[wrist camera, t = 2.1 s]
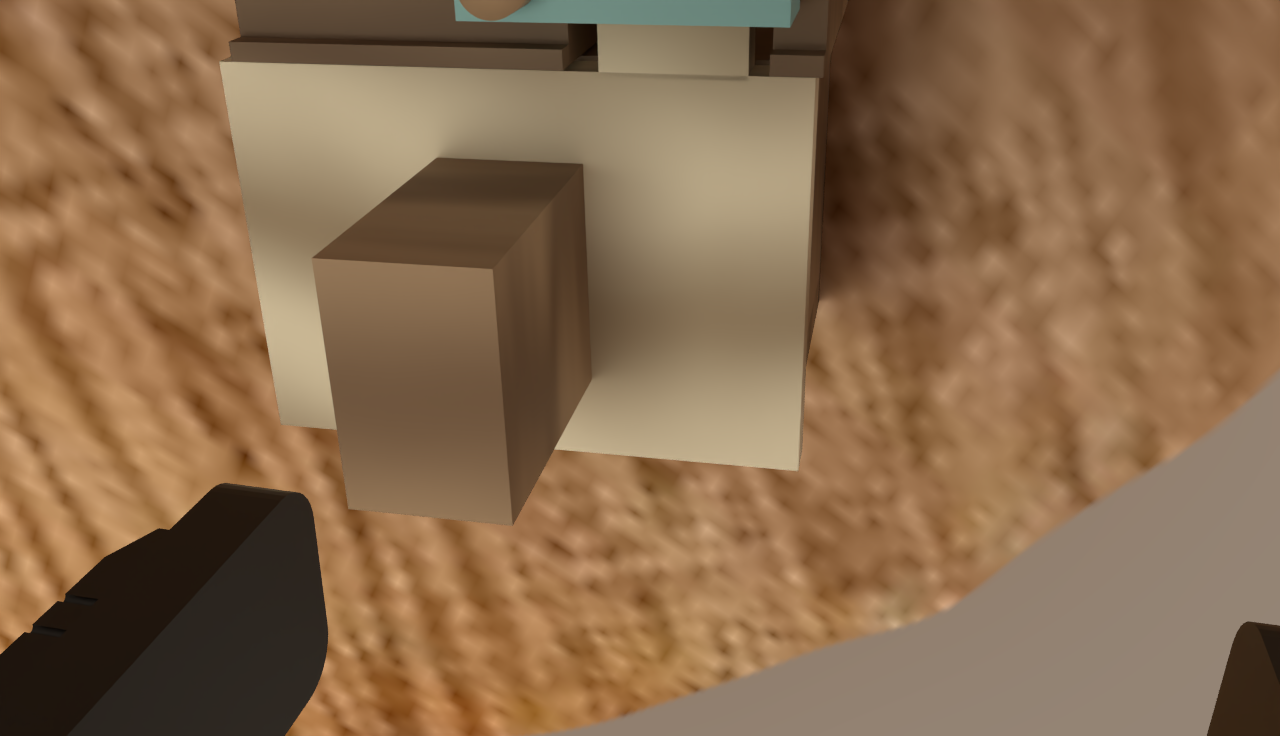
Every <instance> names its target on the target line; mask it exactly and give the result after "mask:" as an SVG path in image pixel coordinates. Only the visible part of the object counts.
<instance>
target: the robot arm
mask: <svg viewBox="0 0 1280 736" xmlns="http://www.w3.org/2000/svg"><path fill="white" fill-rule="evenodd" d="M65 595H66V596H65V600H64V602H59V601H57V602H56V603H55V604H54V605H53V606H52V607H51V608H50V609H49V610H48V611H47V612H45V613H44V614H43V615H42V616H41V617H40V618H39V619H38V620H37V621H36V622H35V623H34V624H33V629H32V631H31V633H26V632H24V633H23V634H22V635H21V636H20V637H19V638H18V639H17V640H15V641H14V642H13V643H12V644H11V645H10V646H9V647H8V648H7V649H6V650H5V651H4V652H3V653H1V654H0V736H285V735H286V733H287V732H288V730H289V729H290V727H291V726H292V724H293V723H294V722H295V720H296V719H297V717H298V716H299V714H300V713H301V711H302V710H303V708H304V707H305V705H306V704H307V703H308V701H309V700H310V698H311V696H312V695H313V693H314V691H315V689H316V687H317V685H318V682H319V680H320V677H321V674H322V671H323V667H324V663H325V659H326V653H327V644H328V625H327V617H326V609H325V602H324V594H323V586H322V578H321V570H320V563H319V555H318V547H317V539H316V531H315V524H314V517H313V511H312V508H311V505H310V503H309V501H308V499H307V498H306V497H305V496H304V495H303V494H301V493H297V492H290V491H282V490H275V489H267V488H260V487H252V486H245V485H237V484H230V483H222V484H219V485H217V486H215V487H214V488H213V489H211V490H210V491H209V492H208V493H207V494H206V495H205V496H204V497H203V498H202V499H201V500H200V501H199V502H198V503H197V504H196V505H195V506H194V507H193V508H192V509H191V510H189V511H188V512H187V513H186V514H185V515H184V516H183V517H182V518H181V519H180V520H179V521H178V522H177V523H176V524H175V525H174V526H173V527H172V528H171V529H170V530H166V529H157V530H155V531H153V532H151V533H149V534H147V535H146V536H144V537H142V538H140V539H138V540H136V541H134V542H132V543H131V544H129V545H127V546H125V547H123V548H121V549H119V550H117V551H115V552H114V553H112V554H110V555H108V556H106V557H104V558H103V559H102V560H101V561H100V562H99V563H98V564H97V565H96V566H95V567H94V568H93V569H92V570H90V571H89V572H88V573H87V574H86V575H85V576H84V577H83V578H82V579H81V580H80V581H79V582H78V583H77V584H75V585H74V586H73V587H72V588H71V589H70V590H69V591H68V592H67V593H66V594H65ZM1207 736H1280V626H1278V625H1270V624H1263V623H1256V622H1246V623H1244V624H1243V625H1242V626H1241V627H1240V629H1239V630H1238V632H1237V634H1236V637H1235V638H1234V641H1233V644H1232V648H1231V651H1230V655H1229V658H1228V662H1227V665H1226V669H1225V673H1224V676H1223V680H1222V683H1221V687H1220V690H1219V694H1218V698H1217V701H1216V705H1215V709H1214V712H1213V716H1212V719H1211V723H1210V726H1209V730H1208V734H1207Z"/></svg>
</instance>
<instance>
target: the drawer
mask: <svg viewBox="0 0 1280 736" xmlns="http://www.w3.org/2000/svg"><path fill="white" fill-rule="evenodd" d="M755 28H756V27H734V26H683V25H632V24H597V39H598V61H574V62H573V63H571V64H570V65H569V66H568V67H567V68H565V69H564V70H563V71H554V70H518V69H481V68H445V67H408V66H372V65H335V64H299V63H262V62H232V58H231V57H229V58H227V59H224V60H222V61H220V62H219V63H220V69H221V75H222V81H223V87H224V92H225V98H226V104H227V110H228V116H229V122H230V128H231V133H232V139H233V145H234V151H235V157H236V163H237V169H238V175H239V180H240V186H241V192H242V198H243V204H244V210H245V216H246V222H247V227H248V233H249V239H250V245H251V251H252V257H253V263H254V269H255V274H256V280H257V286H258V292H259V298H260V304H261V310H262V316H263V321H264V327H265V333H266V339H267V345H268V351H269V357H270V363H271V368H272V374H273V380H274V386H275V392H276V398H277V404H278V410H279V415H280V421H281V425H291V426H302V427H313V428H324V429H335V430H337V434H338V441H339V448H340V454H341V461H342V468H343V475H344V482H345V488H346V495H347V502H348V509H354V510H364V511H374V512H383V513H393V514H403V515H413V516H422V517H432V518H442V519H451V520H461V521H471V522H481V523H490V524H500V525H510V526H513V524H514V522H515V520H516V519H517V517H518V515H519V513H520V511H521V509H522V508H523V506H524V504H525V502H526V500H527V498H528V496H529V495H530V493H531V491H532V489H533V487H534V485H535V484H536V482H537V480H538V478H539V476H540V474H541V473H542V471H543V469H544V467H545V465H546V463H547V461H548V460H549V458H550V456H551V454H552V452H553V450H554V449H558V450H570V451H581V452H592V453H603V454H614V455H625V456H637V457H648V458H659V459H670V460H681V461H692V462H703V463H715V464H726V465H737V466H748V467H759V468H770V469H782V470H793V471H798V469H799V464H800V458H801V453H802V441H803V419H804V397H805V375H806V353H807V331H808V309H809V287H810V265H811V243H812V221H813V199H814V177H815V155H816V133H817V111H818V89H819V78H810V77H773V76H769V74H770V65H755Z"/></svg>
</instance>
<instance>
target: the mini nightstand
mask: <svg viewBox="0 0 1280 736" xmlns="http://www.w3.org/2000/svg"><path fill="white" fill-rule="evenodd" d="M235 3H236V9H237V16H238V22H239V28H240V34H241V37H240V38H237V39H235V40H232V41H230V42H229V46H230V52H231V58H232V62H262V63H299V64H335V65H372V66H408V67H445V68H481V69H518V70H554V71H563V70H564V69H565V68H567V67H568V66H569V65H570V64H571V63H573V62H574V61H598V39H597V24H581V23H530V22H479V21H456V17H455V5H454V0H235ZM847 3H848V0H800V9H799V11H798V13H797V15H796V17H795V19H794V21H793V23H792V25H791V27H790V28H785V27H756V28H755V65H770V74H769V76H773V77H810V78H819V89H818V111H817V133H816V155H815V177H814V199H813V221H812V243H811V265H810V287H809V309H808V331H807V353H806V363H807V358H808V353H809V348H810V343H811V338H812V333H813V328H814V323H815V318H816V313H817V308H818V303H819V285H820V264H821V244H822V224H823V204H824V183H825V163H826V143H827V122H828V102H829V82H830V62H831V53H832V50H833V46H834V43H835V40H836V37H837V34H838V31H839V28H840V25H841V22H842V19H843V16H844V13H845V10H846V6H847Z"/></svg>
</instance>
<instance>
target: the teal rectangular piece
mask: <svg viewBox="0 0 1280 736" xmlns="http://www.w3.org/2000/svg"><path fill="white" fill-rule="evenodd" d="M454 5H455V17H456V21H479V22H530V23H581V24H632V25H683V26H734V27H785V28H790V27H791V25H792V23H793V21H794V19H795V17H796V15H797V13H798V11H799V9H800V0H454Z"/></svg>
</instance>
